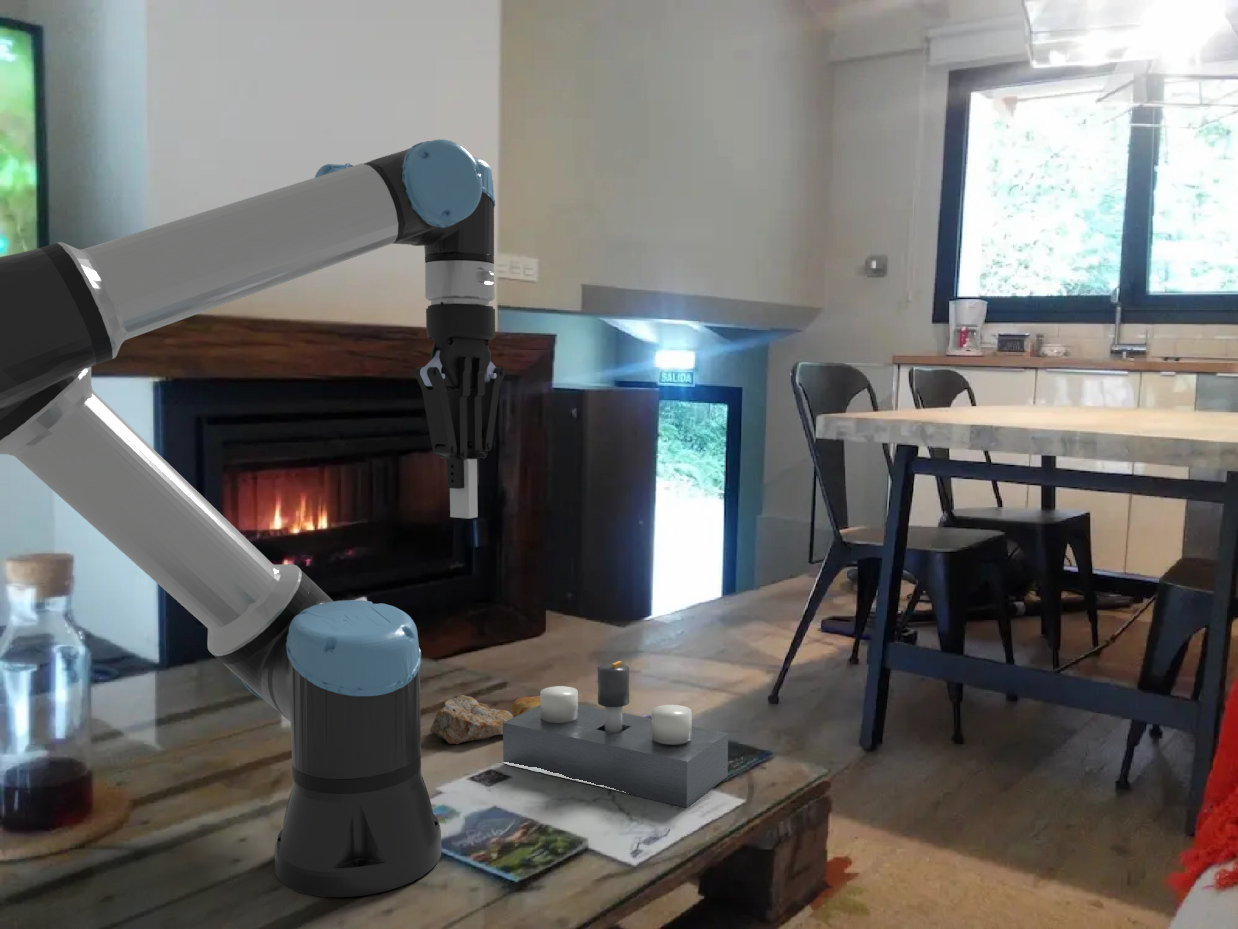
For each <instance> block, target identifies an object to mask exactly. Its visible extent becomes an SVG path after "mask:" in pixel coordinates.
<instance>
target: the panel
mask: <svg viewBox="0 0 1238 929" xmlns="http://www.w3.org/2000/svg"><path fill="white" fill-rule="evenodd" d="M502 751H503V753H502V758H503V759H502V760H503V762H509V763H514V764H519V765H524V766H528V767H537V768H541V769H544V770H547V771H550V772H553V773H559V774H562V775H564V776H566V777H569V778H572V779H579V780H583V781H587V782H591V783H594V784H596V785H604V786H607V787H610V788H614V789H616V790H619V791H624V792H626V793H629V794H628V795H630V794H631V795H632V796H634V795H635V797H639V798H643V797H644V798H643V799H646V800H647V799H648V800H652V801H655V802H659V803H660V802H661V803H664V804H668V805H672V806H676V807H681V808H686V809H688V808H689V807H690V806H691V805H693V804H694V803H695V802H696V801H698V800H699V799H700V798H702V797H703V796H705V795H706V794H707V793H708V792H710V791H711V790H712V789H714V788H715V787H716V786H717V785H719V784H720V783H722V782H723V781H724V780H726V778H728V775H729V772H728V770H729V733H728V732H723V731H717V730H712V729H707V728H703V727H702V728H701V727H696V726H692V739H691V740H690V741H689V742H686V743H683V744H675V745H669V744H662V743H658V742H656V741H654V740H653V739H652V717H651V718H649V717H645V716H640V715H634V714H630V713H623V712H622V732H621V733H619V734H615V733H610V732H606V731H605V708H604V709H603V708H599V707H594V706H593V707H592V706H588V705H583V704H578V718H577V719H575V720H573V721H570V722H565V723H552V722H546V721H544V720H542V719H541V708H540V705H539V706H537V707H535V708H533V709H531V710H529V711H527V712H524V713H522V714H520V715H518V716H516V717H514V718H512V719H510V720H507V721H505V722H503V735H502ZM503 762H502V763H503ZM626 793H625V794H626ZM631 795H630V796H631Z"/></svg>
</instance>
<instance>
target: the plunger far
mask: <svg viewBox="0 0 1238 929" xmlns="http://www.w3.org/2000/svg"><path fill="white" fill-rule="evenodd" d="M539 693H540V695H539V696H540V708H541V719H542V720H544V721H546V722H552V723H565V722H570V721H573V720H575V719H577V718H578V705H579V692H578V689H577V688H575V687H571V686H564V685H561V686H559V685H558V686H556V685H555V686H548V687H546V688H542V689H541V690H540V692H539Z"/></svg>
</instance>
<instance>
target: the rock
mask: <svg viewBox="0 0 1238 929" xmlns="http://www.w3.org/2000/svg"><path fill="white" fill-rule="evenodd" d="M512 718H514V716H513V715H512V712H510V711H508V710H504V709H495V708H490V707H489V705H487V704H485V703H481V702H479V701H478V700H476V699H475V698H474V697H472V696H468V695H463V694H460V693H459V694H458V696H456V697H451V698H448V699H447V700H446V701H445V702H444V703H443V705H442V708H441V709H439V710H438V712H437V713H436V714H435V717H434V720H433V722H432V725H431V727H430V731H429V732H430V733H432V734H436V735H437V736H438V737H440V738H442V739H444V740H445V741H446V742H447V744H449V745H454V744H456V745H458V744H461V743H465V742H472V741H478V740H481V739H486V738H490V737H493V736H499V735H501V736H503V722H505V721H507V720H510V719H512Z"/></svg>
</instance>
